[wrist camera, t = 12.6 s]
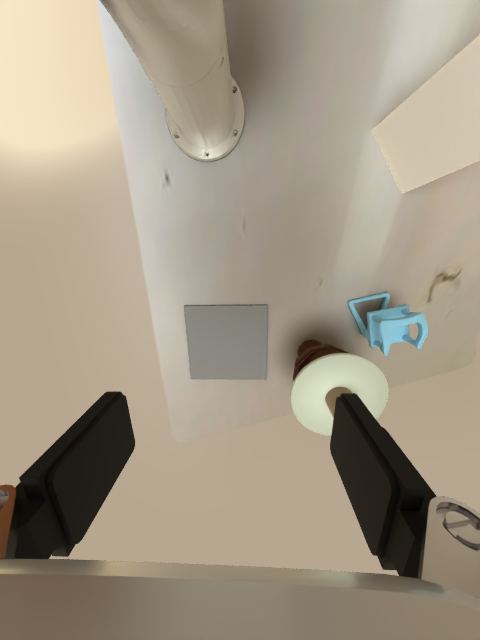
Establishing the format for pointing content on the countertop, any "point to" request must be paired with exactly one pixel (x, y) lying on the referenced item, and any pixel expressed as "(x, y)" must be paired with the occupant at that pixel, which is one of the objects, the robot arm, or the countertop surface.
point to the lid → (336, 389)
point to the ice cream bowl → (312, 354)
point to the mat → (227, 341)
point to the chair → (389, 324)
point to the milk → (435, 124)
